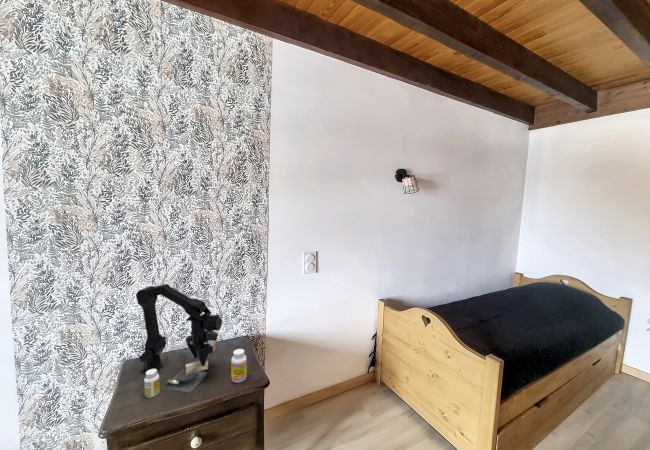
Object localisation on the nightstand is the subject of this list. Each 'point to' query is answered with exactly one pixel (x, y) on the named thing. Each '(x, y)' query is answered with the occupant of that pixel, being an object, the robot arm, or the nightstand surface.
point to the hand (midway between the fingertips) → (199, 361)
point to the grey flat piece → (185, 387)
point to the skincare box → (211, 343)
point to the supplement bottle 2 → (238, 366)
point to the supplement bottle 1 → (151, 383)
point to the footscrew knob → (191, 371)
